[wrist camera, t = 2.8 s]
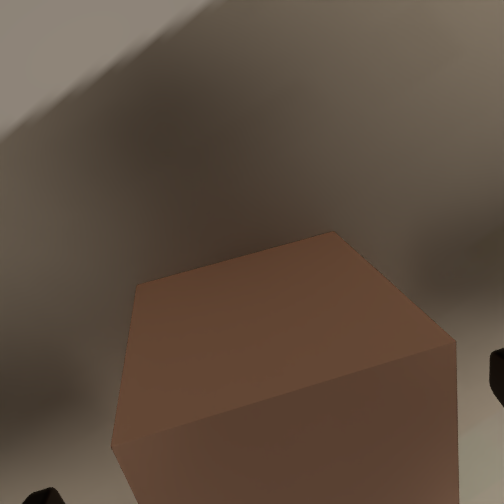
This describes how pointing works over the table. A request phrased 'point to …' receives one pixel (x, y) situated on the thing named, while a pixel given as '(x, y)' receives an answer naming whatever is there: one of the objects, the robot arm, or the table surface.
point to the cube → (287, 386)
